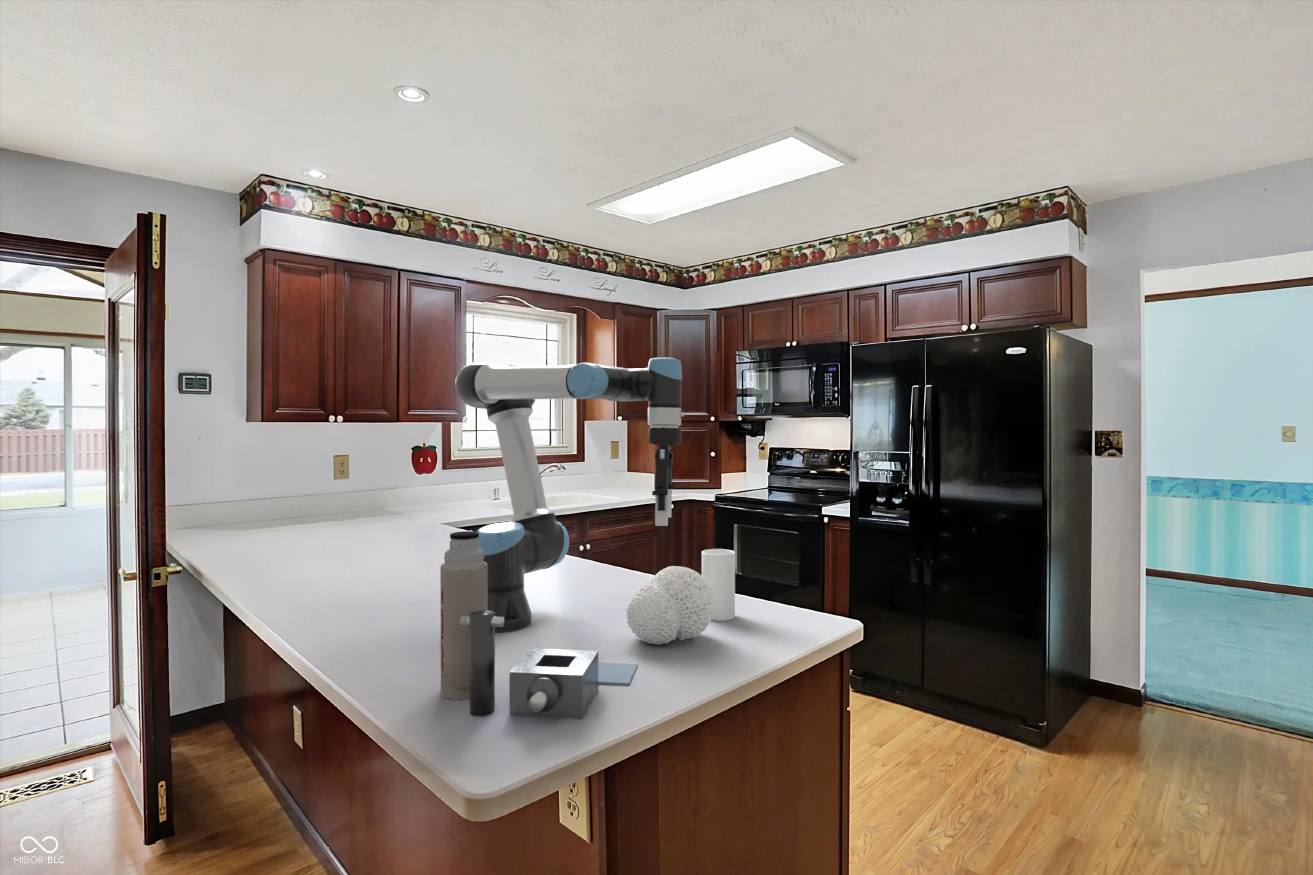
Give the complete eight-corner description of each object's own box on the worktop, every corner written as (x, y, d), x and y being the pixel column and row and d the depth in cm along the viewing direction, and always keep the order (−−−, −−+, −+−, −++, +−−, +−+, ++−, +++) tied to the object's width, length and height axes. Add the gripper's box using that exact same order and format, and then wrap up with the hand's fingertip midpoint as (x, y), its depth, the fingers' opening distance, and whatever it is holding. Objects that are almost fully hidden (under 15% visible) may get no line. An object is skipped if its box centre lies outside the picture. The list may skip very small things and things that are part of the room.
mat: (574, 682, 122) (574, 680, 122) (587, 663, 132) (587, 661, 132) (629, 685, 120) (629, 682, 120) (637, 665, 130) (637, 663, 130)
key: (456, 715, 108) (456, 616, 108) (466, 704, 112) (466, 609, 111) (498, 717, 107) (498, 617, 107) (507, 707, 111) (507, 611, 111)
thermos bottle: (435, 700, 114) (435, 536, 113) (446, 682, 122) (446, 529, 121) (483, 698, 114) (483, 535, 114) (491, 681, 122) (490, 528, 122)
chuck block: (498, 728, 103) (498, 683, 103) (532, 686, 119) (532, 647, 119) (574, 733, 101) (574, 687, 101) (598, 690, 118) (598, 650, 118)
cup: (733, 621, 161) (733, 555, 161) (699, 619, 162) (699, 554, 162) (736, 612, 169) (736, 549, 169) (703, 610, 170) (703, 548, 170)
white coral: (683, 584, 162) (680, 539, 151) (733, 632, 151) (733, 587, 140) (616, 631, 153) (608, 587, 143) (664, 685, 142) (659, 641, 132)
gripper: (678, 427, 137) (677, 529, 138) (683, 427, 162) (682, 514, 163) (642, 426, 138) (641, 529, 138) (652, 427, 163) (651, 513, 163)
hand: (663, 521), depth 150 cm, fingers open, 13 cm apart
